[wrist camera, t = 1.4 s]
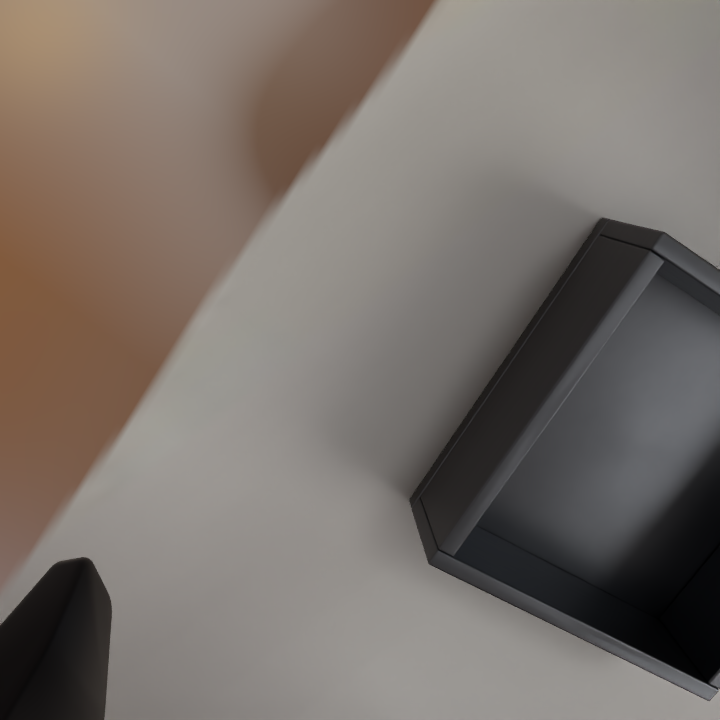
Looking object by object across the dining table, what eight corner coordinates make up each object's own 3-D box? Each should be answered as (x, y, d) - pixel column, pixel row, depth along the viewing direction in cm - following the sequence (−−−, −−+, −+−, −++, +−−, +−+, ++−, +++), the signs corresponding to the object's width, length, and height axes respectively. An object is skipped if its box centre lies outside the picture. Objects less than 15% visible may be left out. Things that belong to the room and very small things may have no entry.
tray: (652, 625, 28) (709, 702, 24) (408, 500, 25) (427, 564, 21) (850, 385, 25) (949, 428, 22) (601, 216, 23) (664, 231, 19)
